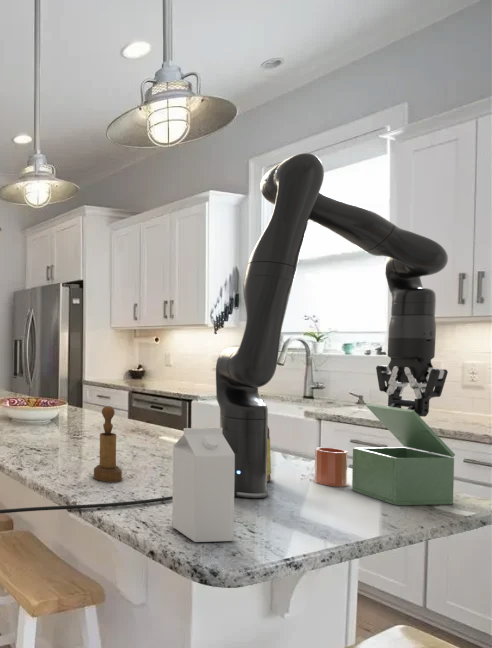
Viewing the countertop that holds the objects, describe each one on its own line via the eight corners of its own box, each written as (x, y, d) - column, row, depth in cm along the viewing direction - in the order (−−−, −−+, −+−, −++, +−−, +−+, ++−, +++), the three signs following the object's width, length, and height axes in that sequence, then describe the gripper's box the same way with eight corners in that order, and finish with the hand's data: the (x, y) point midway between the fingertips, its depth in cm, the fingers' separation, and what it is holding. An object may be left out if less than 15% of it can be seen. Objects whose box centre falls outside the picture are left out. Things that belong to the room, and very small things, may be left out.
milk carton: (171, 527, 92) (172, 424, 92) (208, 526, 93) (209, 424, 92) (194, 543, 85) (195, 432, 85) (234, 541, 86) (235, 431, 85)
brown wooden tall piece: (95, 481, 122) (96, 407, 122) (92, 474, 129) (92, 404, 128) (124, 482, 121) (124, 408, 121) (119, 475, 127) (119, 405, 127)
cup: (329, 487, 117) (329, 453, 117) (308, 479, 123) (309, 447, 123) (353, 486, 118) (354, 452, 117) (331, 479, 124) (332, 447, 124)
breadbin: (396, 505, 104) (397, 458, 104) (351, 490, 115) (352, 447, 115) (453, 504, 105) (454, 457, 105) (404, 489, 116) (404, 446, 115)
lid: (411, 412, 104) (426, 396, 104) (365, 405, 115) (379, 391, 115) (453, 457, 105) (468, 441, 105) (403, 446, 115) (417, 431, 115)
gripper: (365, 336, 116) (361, 409, 116) (428, 335, 102) (424, 419, 102) (396, 337, 117) (392, 410, 117) (463, 337, 102) (459, 420, 103)
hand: (407, 413), depth 110 cm, fingers closed on lid, 5 cm apart
